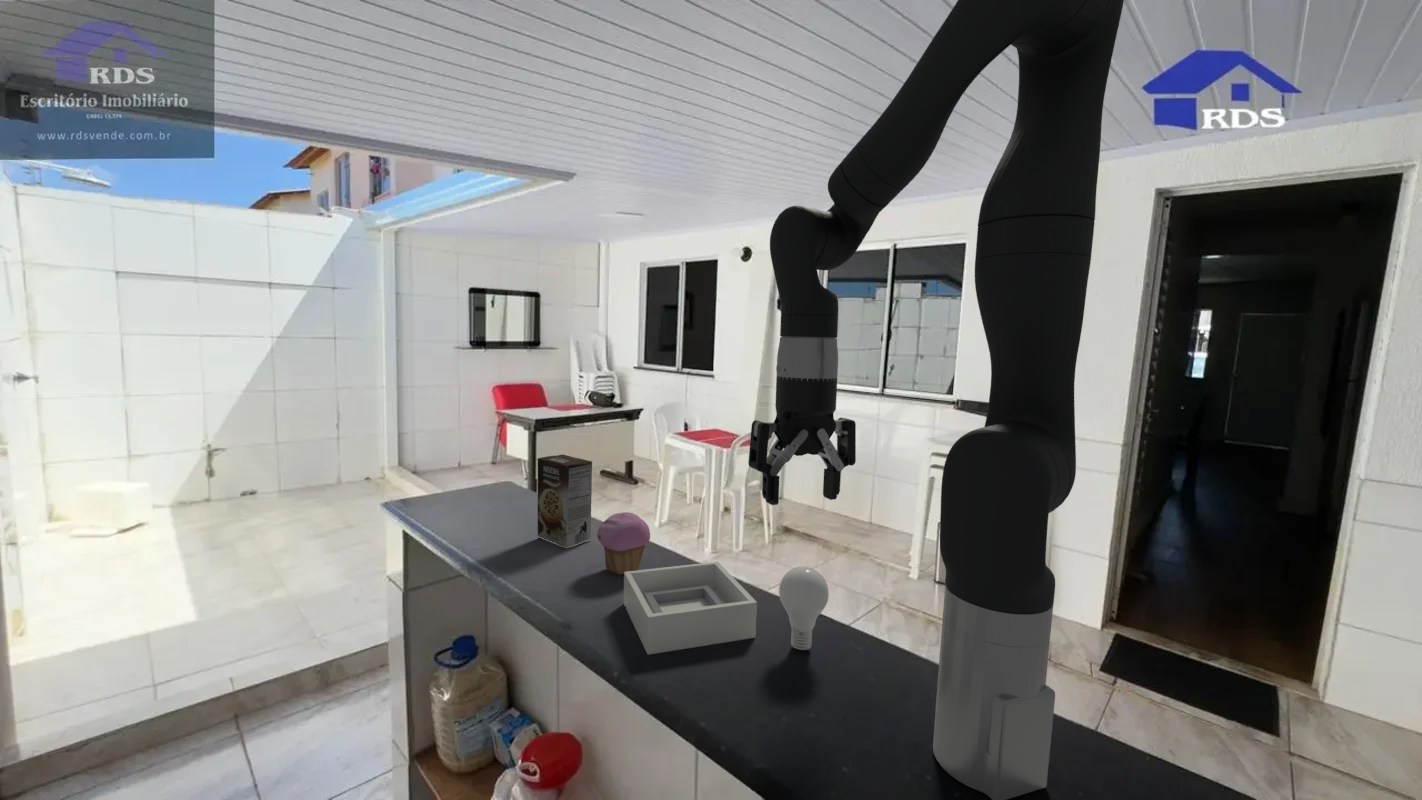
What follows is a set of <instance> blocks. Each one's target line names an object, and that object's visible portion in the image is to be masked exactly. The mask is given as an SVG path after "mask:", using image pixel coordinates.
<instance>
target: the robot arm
mask: <svg viewBox="0 0 1422 800" xmlns="http://www.w3.org/2000/svg"><path fill="white" fill-rule="evenodd" d="M1124 1H1125V0H957V1H956V3H955V4H954V6H953V7H952V9H951V11H950V12H949V14H947V17H946V18H945V20H944V21H943V22H942V24H941V25H940V27H939V28H938V30H937V32H936V33H935V35H934V36H933V38H932V40H931V41H930V42H929V44H928V45H927V46H926V49H925V50H924V52H923V53H922V55H921V57H919V60H918V61H917V63H916V65H915V66H914V68H913V69H912V71H911V72H910V74H909V75H908V77H907V78H906V80H905V82H904V83H903V84H902V86H901V87H900V89H899V90H898V92H897V93H896V94H895V96H894V97H893V99H892V100H891V101H890V103H889V104H888V106H887V107H886V108H885V110H884V111H883V112H882V114H880V116H879V117H878V118H877V119H876V121H875V122H874V123H873V125H872V126H871V127H870V128H869V129H868V131H867V132H865V134H864V135H863V136H862V137H861V139H859V141H858V142H857V143H856V145H854V147H852V149H851V150H850V151H849V152H848V153H847V154H846V156H845V157H844V158H843V159H842V160H841V162H840V163H839V164H838V165H837V166H836V167H835V168H834V170H833V172H832V173H831V175H830V176H829V179H828V182H827V191H828V194H829V197H830V199H831V200H832V202H833V205H832V206H831V207H830V208H829V209H828V210H823V209H818V208H813V207H810V206H804V205H792V206H788V207H786V208H785V209H783V211H781V212H780V213H779V215H778V216H777V217H776V219H775V221H774V222H773V226H772V228H771V232H770V236H769V237H770V238H769V250H770V251H769V253H770V259H771V263H772V268H773V273H774V278H775V281H776V282H775V283H776V288H777V291H778V292H777V293H778V295H779V296H778V297H779V299H780V300H779V301H780V305H781V306H780V327H779V328H780V329H779V336H780V337H779V342H778V343H779V344H778V349H777V355H776V368H775V371H776V381H775V406H774V407H775V412H776V413H775V414H776V415H775V419H774V421H773V422H764V421H760V420H757V419H755V420H753V422H752V423H751V430H750V440H749V453H748V466H749V467H750V468H751V469H753V470H755V471H758V472H761V473H762V485H761V486H762V487H761V488H762V489H761V490H762V491H761V496H762V498H763V499H765V502H766V503H768V504H769V505H770V506H777V505H779V502H780V501H779V500H780V497H779V496H780V475H778V474H779V473H780V471H781V470H782V469H783V467H784V466H785V464H786V463H788V462H790V461H791V460H792V457H794V456H796V457H801V456H804V455H808V454H809V455H812V456H813V455H814V456H816V455H817V456H819V457H820V458H821V461H822V462H823V463H824V464H825V466H826V468H823V483H822V484H823V485H822V494H823V497H824V498H826V499H828V500H830V501H832V500H833V501H834V500H836V499H837V497H838V496H839V495H840V491H841V478H842V474H841V473H842V471H843V470H844V468H846V467H849V466H854V465H855V464H856V459H857V457H856V456H857V454H856V453H857V452H856V451H857V450H856V447H857V446H856V444H857V443H856V442H857V440H856V439H857V438H856V433H857V432H856V430H857V429H856V428H857V426H856V421H855V420H853V419H850V418H846V417H839V418H837V419H835V416H834V414H835V412H836V410H837V394H838V373H839V372H838V369H839V350H838V328H839V326H838V325H839V299H838V297H837V294H836V293H835V292H833V291H832V290H830V289H828V288H826V287H825V286H823V285H822V284H821V281H820V277H819V272H818V271H831V270H834V269H836V268H839V267H841V266H842V265H843V264H845V263H846V262H848V261H849V260H850V259H851V258H852V257H853V255H855V253H856V252H857V250H858V248H859V247H860V246H861V244H862V242H863V240H865V238H866V236H867V235H868V233H869V231H870V230H871V228H872V226H873V224H874V222H875V221H876V219H877V217H878V216H879V213H880V212H882V211H883V210H884V209H885V208H886V207H887V206H888V205H889V204H890V203H891V202H892V201H893V200H894V199H895V198H896V197H897V196H898V195H899V194H900V193H901V192H902V191H903V190H904V189H905V188H906V187H907V186H908V185H909V184H910V183H911V182H912V181H913V180H914V179H915V178H916V177H917V176H918V174H919V173H920V172H921V170H922V169H924V167H925V165H926V164H927V162H928V161H929V160H930V158H931V157H932V155H933V153H934V150H935V149H936V147H937V145H938V142H939V141H940V139H941V136H942V134H943V133H944V131H945V128H946V125H947V123H948V121H949V118H950V117H951V115H952V114H953V112H954V109H955V107H956V106H957V104H958V103H959V101H960V99H961V98H962V96H963V95H964V94H965V92H966V91H967V89H968V88H969V87H970V85H971V84H972V83H973V82H974V80H975V79H976V78H977V77H978V76H979V75H980V74H981V73H982V72H983V71H984V69H985V68H987V66H988V65H990V63H992V62H993V61H994V60H995V59H996V58H997V57H999V55H1000V54H1002V53H1003V52H1004V51H1005V50H1006V49H1008V47H1010V46H1012V47H1014V48H1015V49H1016V53H1017V57H1018V93H1017V106H1016V107H1017V109H1016V117H1015V120H1014V125H1013V129H1012V132H1011V135H1010V138H1009V141H1008V143H1007V144H1006V147H1005V149H1004V151H1003V153H1002V156H1001V157H1000V159H999V161H998V164H997V165H996V168H995V170H994V172H993V174H992V176H991V178H990V180H989V181H988V184H987V187H986V189H985V191H984V195H983V198H982V200H981V204H980V209H979V214H978V222H977V232H976V233H977V234H976V235H977V236H976V246H975V247H976V248H975V261H974V284H975V285H974V287H975V293H976V300H977V305H978V309H979V314H980V319H981V322H982V325H983V331H984V333H985V338H986V342H987V346H988V352H989V358H990V372H991V374H990V375H991V376H990V387H989V390H990V391H989V399H988V405H987V412H986V416H985V417H986V418H985V422H984V427H979V428H976V429H973V430H971V431H969V432H967V433H965V434H963V435H961V437H959V438H958V439H957V440H956V441H955V442H954V444H953V445H952V446H951V448H950V449H949V451H948V453H947V456H946V458H945V462H944V465H943V471H942V477H941V489H940V490H941V491H940V492H941V493H940V515H939V516H940V518H939V519H940V521H939V550H940V555H941V556H940V557H941V559H942V562H943V565H944V568H945V581H944V582H945V583H944V584H945V585H944V596H943V597H944V598H943V610H942V620H941V635H940V647H939V648H940V650H939V661H938V674H937V687H936V699H935V700H936V701H935V715H934V728H933V741H932V750H933V751H932V752H933V754H934V757H935V759H936V761H937V762H938V763H939V766H940V767H941V768H942V769H943V770H944V771H945V772H946V773H947V774H949V776H951V777H953V778H954V779H955V780H957V781H958V782H959V783H962V784H963V785H965V786H967V787H969V788H971V789H973V790H976V791H979V792H980V793H983V794H985V795H987V797H989V798H990V799H991V800H1009V799H1013V798H1016V797H1020V796H1022V795H1025V794H1029V793H1032V792H1035V791H1038V790H1042V789H1045V788H1046V787H1047V786H1048V785H1047V783H1048V775H1049V772H1048V771H1049V763H1050V753H1051V742H1052V734H1053V733H1052V732H1053V724H1054V723H1053V722H1054V711H1055V702H1056V692H1055V690H1054V689H1053V688H1051V687H1050V686H1048V685H1047V684H1046V683H1047V673H1048V663H1049V662H1048V661H1049V651H1050V644H1051V643H1050V642H1051V633H1052V622H1053V612H1054V603H1055V593H1056V578H1055V575H1054V573H1053V572H1052V570H1051V569H1050V567H1048V566H1047V561H1046V556H1047V554H1046V553H1047V542H1048V541H1047V539H1048V525H1049V514H1050V513H1052V512H1053V511H1055V510H1057V508H1059V507H1060V506H1061V505H1063V503H1064V502H1065V501H1066V500H1067V498H1068V497H1069V495H1070V493H1071V492H1072V489H1073V487H1074V484H1075V479H1076V475H1077V474H1076V473H1077V471H1076V470H1077V452H1076V451H1077V450H1076V449H1077V448H1076V445H1077V443H1076V417H1075V416H1076V415H1075V409H1076V408H1075V407H1076V405H1075V379H1076V378H1075V377H1076V365H1077V361H1078V360H1077V359H1078V353H1079V347H1080V343H1081V337H1082V329H1083V323H1084V314H1085V307H1086V297H1087V289H1088V281H1089V274H1090V268H1091V260H1092V250H1093V242H1094V234H1095V233H1094V232H1095V231H1094V229H1095V221H1096V208H1097V207H1096V205H1097V204H1096V203H1097V186H1098V175H1099V168H1100V167H1099V165H1100V154H1101V142H1102V141H1101V139H1102V124H1103V123H1102V121H1103V111H1104V110H1103V108H1104V101H1105V95H1106V90H1107V89H1106V88H1107V84H1108V78H1109V72H1110V68H1111V63H1112V58H1113V54H1114V48H1115V44H1116V39H1117V35H1118V32H1119V31H1118V30H1119V26H1120V21H1121V16H1122V11H1123V7H1124ZM834 433H835V435H836V447H835V446H834V444H833V442H832V441H831V437H832V436H833V435H834ZM773 434H774V435H775V436H776V438H777V439H776V441H775V442H774V443H773V444H772V446H771V448H770V449H769V440H770V439H771V438H773ZM768 449H769V451H768ZM768 453H769V454H768Z"/></svg>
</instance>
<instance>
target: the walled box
mask: <svg viewBox="0 0 1422 800" xmlns="http://www.w3.org/2000/svg"><path fill="white" fill-rule="evenodd" d="M623 606H624V608H625V607H626V608H625V609H626V612H627V614H628V616H629V618H630V621H631V623H632V624H633V626H634V629H635V631H636V634H637V635H638V638H639V639H640V641H641V645H642V646H643V648H644V650H645V652H646V655H648V656H649V655H656V654H661V653H668V652H673V651H680V650H685V649H693V648H698V647H705V646H712V645H717V644H724V643H731V642H736V641H742V640H748V639H749V640H750V639H754V638H756V634H757V633H756V631H757V611H758V610H757V609H758V601H756V600H755V599H754V598H753V596H752V595H751V594H750V593H749V592H748V591H747V590H746V589H745V588H744V587H743V586H742V584H740V583H739V582H738V581H737V580H736V579H735V578H734V577H733V576H732V574H731V573H729V572H728V570H726V568H724V567H723V565H722V564H721V563H720V562H719V561H711V562H703V563H701V562H699V563H693V564H686V565H685V564H684V565H675V566H665V567H654V568H645V569H637V570H636V571H627V572H624V574H623Z"/></svg>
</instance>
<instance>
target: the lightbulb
mask: <svg viewBox="0 0 1422 800" xmlns="http://www.w3.org/2000/svg"><path fill="white" fill-rule="evenodd" d="M778 587H779V588H778V595H779V599H780V603H781V604H782V606H783V608H784V610H785V612H786V613H787V615H788V619H789V620H788V621H789V624H790V626H791V631H790V632H791V634H790V635H791V637H790V639H791V640H790V645H791V647H793V648H794V649H796V650H798V651H800V652H803V651H807V650H810V649H811V648H812V643H813V642H812V640H813V638H812V637H813V629H814V628H815V626H816V621H817V619H818V616H820V615H821V613H822V612H823V611H824V609H825V608H826V606H827V604H828V600H829V593H830V592H829V585H828V584H827V581H826V579H825V577H824V576H823V575H822V574H821V573H820V572H819V571H818V570H816V569H814V568H812V567H808V566H797V567H794V568H792V569H790V570H788V571H787V572H786V573H785V574H784V575H783V576H782V578H781V581H780V583H779V586H778Z"/></svg>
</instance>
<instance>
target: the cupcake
mask: <svg viewBox="0 0 1422 800" xmlns="http://www.w3.org/2000/svg"><path fill="white" fill-rule="evenodd" d="M596 537H597V541H599V543H600V544H601V545H602V547H603V550H604V562H605V567H606V569H607V571H610V572H612V573H614V574H617V575H624V572H627V571H636V570H639V568H640V565H641V562H642V556H643V553H644V550H645V548H646V547H645V546H646V544H647V543H649V542H650V540H651V532H650V527H649V525H648V524H647V522H646V521H645V520H643V519H642V518H640V516H639V515H637V514H635V513H632V512H628V511H626V512H617V513H614V514H611V515H610V516H609V517H607V518H606V519H605V520H604V521H603V522H602V523H601V525H600V526H599V527H598V529H597V534H596Z"/></svg>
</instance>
